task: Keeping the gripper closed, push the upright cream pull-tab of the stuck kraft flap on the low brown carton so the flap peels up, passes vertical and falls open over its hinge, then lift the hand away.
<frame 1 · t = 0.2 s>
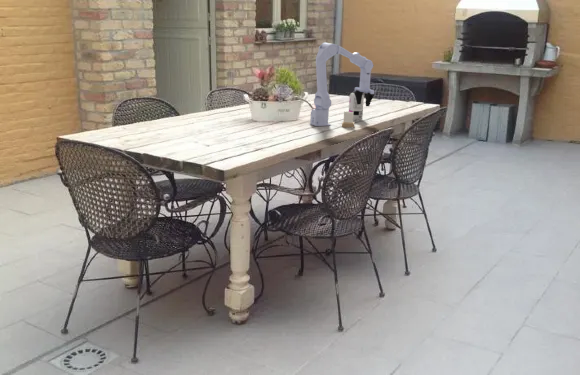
hand: (363, 105, 351), 10 cm above the table, tool pointing down, fingers open, 7 cm apart
supplement can: (355, 119, 364), on the table
carton: (348, 126, 341), on the table
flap: (348, 117, 338), point 5 cm above the table, hinge at -0.1°
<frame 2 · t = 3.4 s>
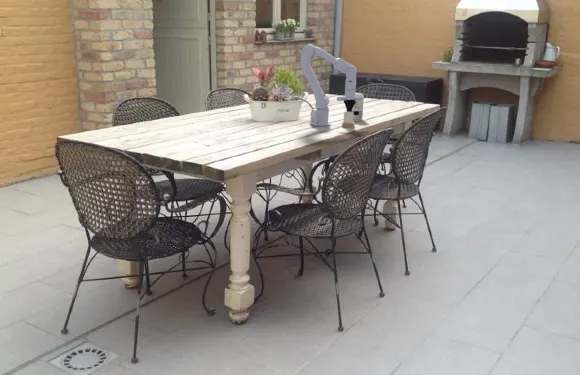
hand: (348, 113, 339), 7 cm above the table, tool pointing down, fingers closed
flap: (348, 117, 338), point 5 cm above the table, hinge at 2.0°, touching gripper
everything else where it was.
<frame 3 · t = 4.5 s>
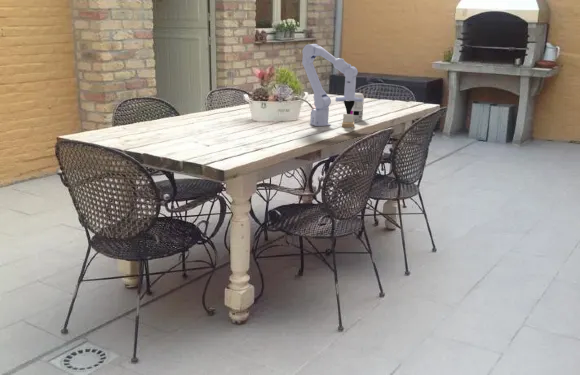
hand: (348, 115, 335), 7 cm above the table, tool pointing down, fingers closed
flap: (348, 117, 336), point 5 cm above the table, hinge at 42.8°
everything else where it was.
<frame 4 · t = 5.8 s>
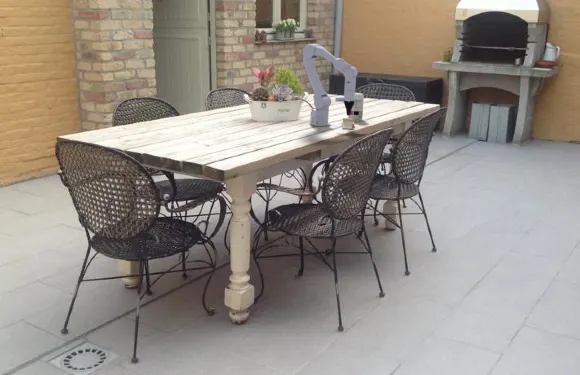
hand: (348, 115, 335), 7 cm above the table, tool pointing down, fingers closed
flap: (347, 124, 335), point 2 cm above the table, hinge at 117.8°
everything else where it was.
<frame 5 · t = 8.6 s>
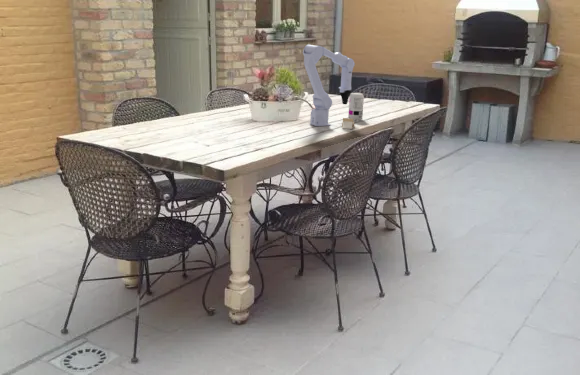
hand: (344, 104, 350), 10 cm above the table, tool pointing down, fingers closed
nothing on the table moved.
at the end: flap at +118° (first picture: +0°) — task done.
